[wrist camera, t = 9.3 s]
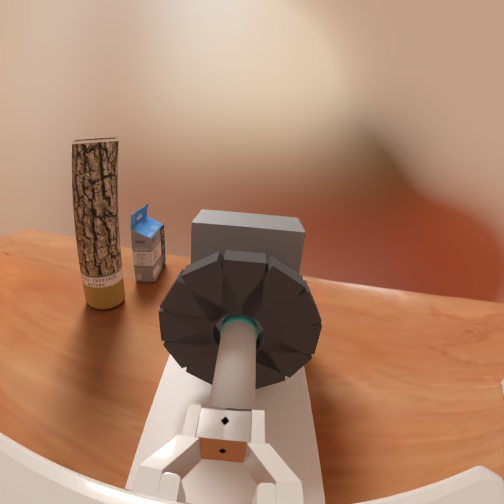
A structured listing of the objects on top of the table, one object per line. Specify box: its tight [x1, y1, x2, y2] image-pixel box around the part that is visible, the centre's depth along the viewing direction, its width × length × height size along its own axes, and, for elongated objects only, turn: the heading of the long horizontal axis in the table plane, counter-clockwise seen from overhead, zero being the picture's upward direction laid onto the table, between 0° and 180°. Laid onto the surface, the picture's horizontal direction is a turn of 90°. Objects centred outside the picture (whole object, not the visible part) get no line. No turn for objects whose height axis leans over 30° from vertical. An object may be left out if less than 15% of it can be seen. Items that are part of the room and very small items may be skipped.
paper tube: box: [72, 138, 125, 310], centre depth 38 cm, size 7×7×25 cm
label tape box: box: [131, 204, 166, 282], centre depth 52 cm, size 9×4×12 cm, turn 1°
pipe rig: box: [125, 210, 325, 504], centre depth 26 cm, size 16×28×16 cm, turn 179°
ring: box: [159, 250, 322, 389], centre depth 25 cm, size 14×2×14 cm, turn 89°
